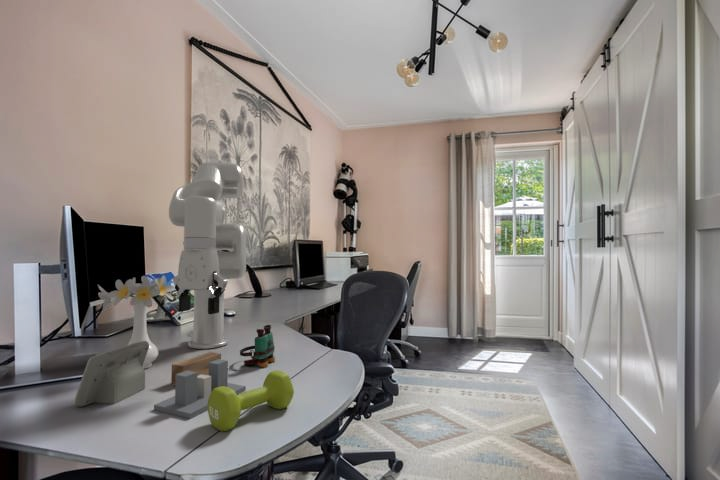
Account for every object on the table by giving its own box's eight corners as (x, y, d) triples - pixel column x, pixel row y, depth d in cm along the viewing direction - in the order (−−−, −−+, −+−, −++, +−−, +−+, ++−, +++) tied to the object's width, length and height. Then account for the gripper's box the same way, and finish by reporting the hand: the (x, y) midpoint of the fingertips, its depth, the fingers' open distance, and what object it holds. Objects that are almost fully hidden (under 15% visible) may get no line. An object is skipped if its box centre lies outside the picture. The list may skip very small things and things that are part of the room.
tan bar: (171, 384, 92) (171, 364, 93) (209, 370, 103) (209, 351, 103) (183, 387, 91) (183, 366, 91) (220, 372, 102) (221, 353, 102)
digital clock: (134, 380, 95) (135, 337, 95) (161, 386, 91) (162, 341, 91) (62, 405, 80) (64, 354, 80) (91, 413, 76) (92, 359, 76)
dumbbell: (224, 438, 67) (224, 397, 67) (202, 424, 72) (202, 386, 72) (297, 409, 79) (298, 374, 79) (274, 398, 84) (274, 366, 84)
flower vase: (93, 368, 104) (95, 276, 104) (167, 356, 115) (169, 273, 116) (98, 381, 94) (100, 279, 94) (179, 367, 105) (180, 276, 106)
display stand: (153, 409, 78) (154, 375, 78) (212, 384, 92) (212, 355, 93) (190, 418, 74) (191, 382, 74) (245, 390, 89) (246, 360, 89)
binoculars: (247, 325, 115) (278, 323, 113) (249, 360, 115) (280, 359, 113) (231, 331, 106) (264, 329, 104) (234, 369, 106) (267, 368, 104)
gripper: (163, 244, 98) (161, 312, 97) (215, 244, 91) (214, 317, 90) (186, 245, 105) (185, 307, 104) (236, 245, 98) (235, 312, 97)
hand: (198, 312), depth 97 cm, fingers open, 9 cm apart
